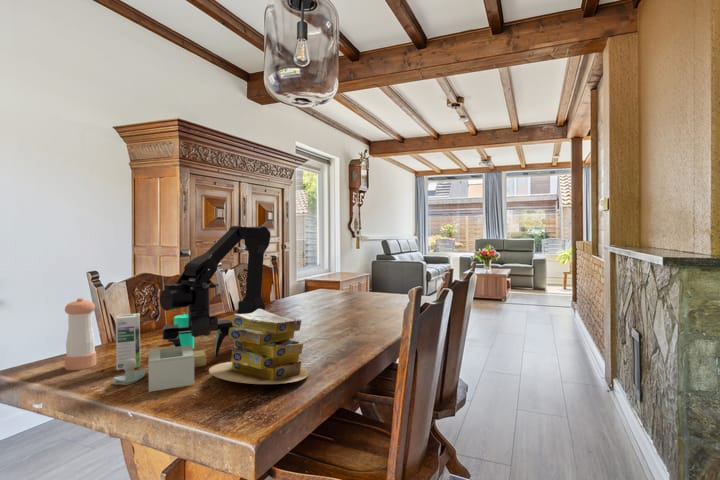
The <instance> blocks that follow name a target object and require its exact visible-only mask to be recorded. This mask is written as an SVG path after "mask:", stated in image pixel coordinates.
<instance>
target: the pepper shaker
mask: <svg viewBox="0 0 720 480" xmlns="http://www.w3.org/2000/svg"><path fill="white" fill-rule="evenodd" d="M95 309H96V305H95V303H94V302H93V301H90V300H85V299H84V298H82V297H80V298H79V297H78V298H77V299H76V301H75V300H74V301H71V302H69V303H67V305H65V307H64V312H65V313H66V314H68V320H67V323H68V326H67V327H68V330H67V336H66V340H65V341H66V343H65V346H66V347H65V350H66V354H65V355H64V369H65V371H80V370H84V369H85V370H86V369H89V368H93V367H94V366H96V365H97V351H96V350H95V346H96V345H95V344H96V343H95V341H96V339H95V334H94V330H93V312H95Z"/></svg>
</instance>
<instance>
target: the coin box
mask: <svg viewBox="0 0 720 480" xmlns="http://www.w3.org/2000/svg"><path fill="white" fill-rule="evenodd" d="M193 351H194V348H193V349H192V346H191V345H188V346H179V347H174V346H173V347H163V348H162V347H161V348H155V349H149V351H148V361H147V362H148V364H147V365H148V393H151V392H156V391H163V390H168V389H175V388H182V387H188V386H194V385H195V367H194V353H193Z"/></svg>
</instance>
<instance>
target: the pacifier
mask: <svg viewBox="0 0 720 480" xmlns="http://www.w3.org/2000/svg"><path fill="white" fill-rule="evenodd" d="M135 367H136V360H135V359H129V360H127V361H126V362H125V363H124V365H123V369H122V370H123V371H124V374H125V375H120V376H114V377H113V381H112V382H111V384H112V385H117V386H118V385H121V386H127V385H132V384H135V383H137V382H138V381H139V380H141V379H142V378H143V377H144V376H145V375H146V374H147V370H145V369H140V370H136V371H135V369H136V368H135Z"/></svg>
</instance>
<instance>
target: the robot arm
mask: <svg viewBox="0 0 720 480" xmlns="http://www.w3.org/2000/svg"><path fill="white" fill-rule="evenodd" d="M271 236H272V235H271V231H270V230H269V227H268V228H267V227H266V226H249V227H247V226H244V225H233V226H231V227H229V229H228V231H227V232H225V233H224V234H223V235H222V236H221V238H219V239H218V240H217V241H216V242H215V243H214V244H213V245H212V246H211V247H210V248H209V249H208V250H207V251H206V252H204V253H203V254H201V255H198V256H196V257H195V258H193V259H192V260H190V261H188V262H187V263H186V264H185V266H184V268H183V271H182V273H181V275H180V276H179V278H178V280H177V281H176V283H175V284H164V289H163V290H162V291H161V293H160V296H159V304H160V307H161V309H162V310H164V311H165V312H167V311H172V310H173V311H174V310H178V309H185V308H187V315H188V327H178V324H176V325H174V324H168V325H167V324H166V325H164V326H163V327H162V340H165V341H166V340H167V341H168V343H172V344H173V346H174V345H175V347H179V346H181V343H180V337H179V334H187V333H191V334H192V336H193V337H194V338H196V337H200V336H205V337H207V336H210V335H211V332H214V331H216V334H215V345H214V357H215V358H217V357H218V354H219V351H220V349H221V346H222V343H223V342H224V339H225V338H226V337H228V334H229V328H230V327H234V326H232V320H231V319H222V320H219V319H218V318H219V317H218V316H217V315H216V316H215V315H213V316H210V289H215V288H217V285H216V284H215V283H213V282H212V278H213V276H214V275H215V274H216V272H217V271H218V266H219V264H220V262H221V261H222V260H223V259H224V258H225V257H226V256H227V255H228V254H229V253H230V252H231V251H232V250H233V249H234V248H235V247H236V245H238V243H240V242H241V240H244V245H245V248H246V250H247V252H248V257H247V258H248V259H247V270H246V271H247V272H246V285H245V295H244V297H243V299H242V300H239V301H238V302H237V306H238V308H237V311H236V312H237V313H236V314H245V313H252V312H254V311H256V310H257V309H263V310H265V311H266V305H265V302H264V300H263V298H262V285H263V284H262V283H263V271H264V255H265V253H266V251H267V249H268V247H269V246H270V240H271Z"/></svg>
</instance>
